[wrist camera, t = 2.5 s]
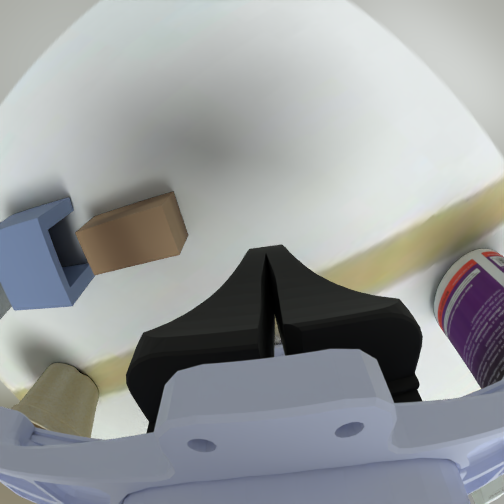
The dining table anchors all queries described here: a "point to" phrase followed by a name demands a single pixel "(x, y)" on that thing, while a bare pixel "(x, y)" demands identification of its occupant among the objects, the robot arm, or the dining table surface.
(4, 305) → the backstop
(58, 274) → the socket block
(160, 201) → the walnut peg
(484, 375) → the pill bottle
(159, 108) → the dining table surface
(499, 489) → the skincare box
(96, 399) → the flower pot
